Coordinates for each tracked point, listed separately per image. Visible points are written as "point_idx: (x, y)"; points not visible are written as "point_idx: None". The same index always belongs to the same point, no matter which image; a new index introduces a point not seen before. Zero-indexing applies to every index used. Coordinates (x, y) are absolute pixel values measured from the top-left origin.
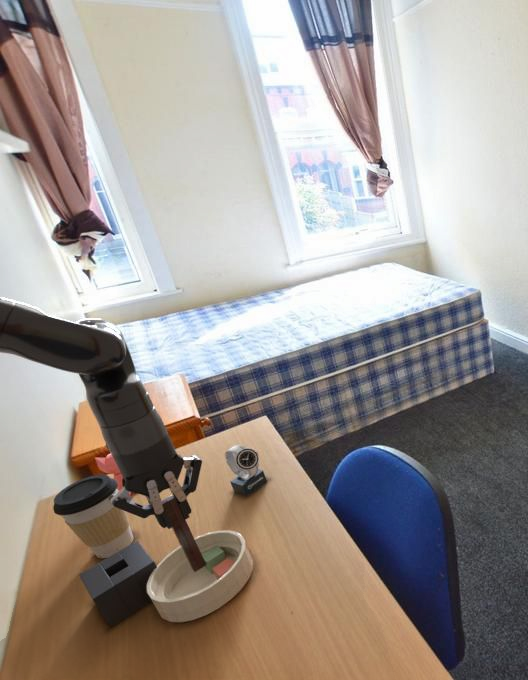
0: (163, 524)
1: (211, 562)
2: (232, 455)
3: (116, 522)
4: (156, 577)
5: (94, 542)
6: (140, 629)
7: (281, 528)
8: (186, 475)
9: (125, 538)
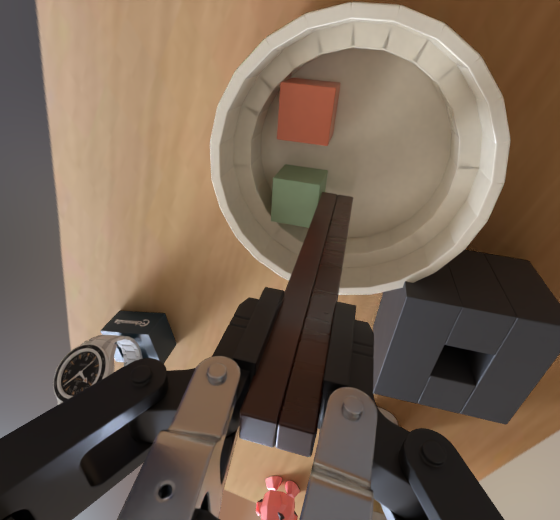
0: (363, 336)
1: (312, 179)
2: None
3: None
4: (422, 259)
5: None
6: (515, 187)
7: (149, 146)
8: (92, 489)
9: None
